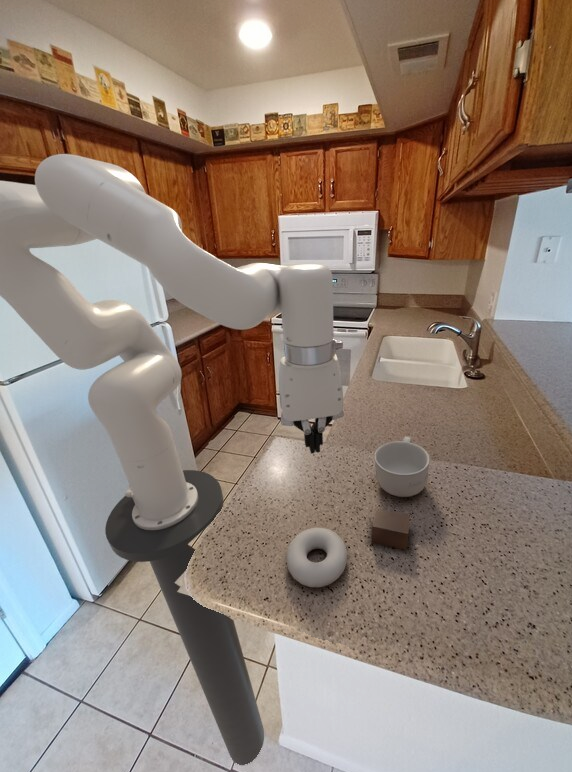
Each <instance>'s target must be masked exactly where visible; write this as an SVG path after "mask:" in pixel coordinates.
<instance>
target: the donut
mask: <svg viewBox="0 0 572 772" xmlns="http://www.w3.org/2000/svg"><path fill="white" fill-rule="evenodd" d="M318 549H319V550H322V551H324V552H325V553H326V557H325V558H324V559H323V560H322V561H319V562H317V561H316V562H315V561H311V560H310V559H309V558H307V557H308V554H309V553H310V552H311V551H312V550H313V551H314V550H318ZM347 549H348V548H347V546H346V544H345V542H344V540H343V539H342V538H341V537H340V535H339V534H338V533H336V532H335V531H333V530H332V529H329V528H325V527H311V528H308V529H307V528H306V529H305V530H303V531H301V532H299V533H298V534H297V535H295V536H294V537H293V539H292V540H291V541H290V543H289V545H288V548H287V551H286V558H285V560H286V561H285V562H286V565H287V569H288V572H289V573H290V575H291V576H292V578H293V579H294V580H295V581H297V582H298V583H299V584H301V585H303V586H306V587H309V588H322V587H327V586H329V585H331V584H333V583H334V582H335V581H337V580H338V579H339V578H340V577H341V575H342V574H343V573H344V571H345V569H346V565H347V563H348V550H347Z"/></svg>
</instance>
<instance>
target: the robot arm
mask: <svg viewBox="0 0 572 772" xmlns="http://www.w3.org/2000/svg"><path fill="white" fill-rule="evenodd" d="M94 240H99V241H100V242H103V243H104V244H106V245H108V246H110V247H111V248H113V249H115V250H116V251H119V252H121V253H122V254H124V255H126V256H127V257H129V258H131V259H133V260H135V261H136V262H137V263H140V264H142V265H144V266H145V267H146V268H147V269H148V270H149V272H150V273H151V275H152V277H153V278H154V279H155V281H156V282H157V283H158V284H159V285H160V286H161V287H162V288H163V290H165V292H167V294H169V295H170V296H171V297H172V298H173V299H174V300H176V301H177V302H179V303H180V304H182V305H183V306H185V307H187V308H188V309H190V310H192V311H194V312H196V313H197V314H199V315H201V316H203V317H205V318H206V319H208V320H210V321H212V322H214V323H216V324H218V325H221V326H222V327H226V328H229V329H232V330H241V331H243V330H250V329H253V328H254V327H258V325H260V324H261V323H262V322H264V321H265V320H266V319H267V317H269V316H272V315H273V314H276V313H278V312H279V313H280V314H281V324H282V336H283V350H284V356H283V357H281V358H280V359H279V360H280V361H279V368H278V393H279V405H280V409H281V414H280V425H282V426H288V427H293V426H294V427H295V428H297V429H299V430H300V431H301V432H303V435H304V436H303V437H304V445H305V448H309V452H310V454H315V453H321V446H323V445H324V438H323V437H324V436H323V435H324V434H323V433H324V432H325V430H326V428H327V426H328V425H330V423H331V422H332V421H334V420H337V419H340V418H343V417H344V415H345V413H344V389H343V381H342V373H341V367H340V361H339V358H338V356H337V354H336V352H337V351H339V350H342V349H343V348H344V342H343V340H338V339H335V338H334V337H335V335H334V333H335V332H334V280H333V278H334V277H333V273H332V270H331V269H330V268H329V267H328V266H325V265H322V264H317V263H315V264H314V263H303V264H301V263H300V264H293V265H280V264H272V263H265V262H253V263H248V264H245V265H241V266H238V267H234V266H232V265H230V264H229V263H227V262H225V261H223V260H221V259H220V258H218V257H216V256H214V255H213V254H211V253H209V252H208V251H206V250H205V249H203V248H202V247H200V246H199V245H197V244H196V243H195V242H193V241H192V240H191V239H189V238H188V237H187V235H185V233H184V232H183V224H182V219H181V217H180V215H179V214H178V213H177V212H176V210H174V209H173V208H171V207H170V206H168V205H166V204H164V203H162V202H161V201H159V200H158V199H156V198H154V197H152V196H150V195H149V194H147V193H146V189H144V187H143V185H142V183H141V182H140V181H139V180H138V179H137V177H135V176H134V175H133V173H131V172H129V171H128V170H126V169H125V168H123V167H121V166H119V165H117V164H113V163H111V162H106V161H102V160H98V159H93V158H89V157H85V156H81V155H78V154H77V155H76V154H71V153H59V154H58V153H57V154H53V155H50V156H48V157H46V158H45V159H43V160H42V161H41V162H40V163H39V164H38V166H37V168H36V170H35V174H34V184H32V183H31V184H30V183H22V182H15V181H7V180H0V297H1V298H2V299H3V300H4V301H5V302H6V303H8V305H9V306H10V307H11V308H12V309H13V310H14V311H15V312H16V313H17V315H18V316H19V317H20V318H21V319H22V320H23V321H24V322H25V324H26V325H27V326H28V327H29V328H30V329H31V330H32V331H33V332H34V333H35V334H36V335H37V336H38V337H39V338H40V340H41V341H42V342H43V343H44V344H45V345H46V346H47V347H48V348H49V349H50V350H51V352H52V353H54V355H55V356H56V357H58V359H60V361H62V362H63V363H64V364H65V365H66V366H68V367H69V368H72V369H74V370H75V369H76V370H79V371H80V370H81V371H82V370H89V369H90V370H91V369H94V368H97V367H98V366H100V365H102V364H105V363H107V362H109V361H111V360H112V359H114V358H116V357H118V356H119V358H120V359H122V362H120V363H119V364H117V365H115V366H114V367H112V368H110V369H108V370H107V371H105V372H104V373H102V374H101V375H100V376H98V377H97V378H96V379H95V380H94V381H93V383H92V384H91V386H90V387H89V389H88V393H87V394H88V395H87V400H88V405H89V407H90V409H91V411H92V412H93V414H94V415H95V416H96V418H97V419H98V421H99V422H100V423H101V425H102V426H103V428H104V430H105V431H106V433H107V435H108V436H109V437H108V438H110V440H111V443H112V445H113V448H114V451H115V452H116V455H117V457H118V460H119V462H120V465H121V467H122V469H123V472H124V475H125V477H126V480H127V483H128V486H129V487H128V488H129V489H127V490H126V491H125V493H124V496H126V497H131V498H133V500H134V502H135V506H134V508H133V510H132V518H133V521H134V523H135V524H136V525H137V526H138V527H139V528H141V529H144V530H160V529H164V528H167V527H170V526H172V525H174V524H176V523H178V522H180V521H181V520H183V519H184V518H185V517H187V516H188V515H189V514H190V513H191V512H192V511H193V509H194V508H195V506H196V504H197V502H198V493H197V490H196V488H195V487H194V486H193V485H192V484H190V483H188V482H186V480H185V477H184V473H183V470H184V469H183V467H182V464H181V460H180V457H179V453H178V450H177V447H176V443H175V440H174V436H173V433H172V429H171V427H170V425H169V424H168V422H167V421H166V420H165V419H164V418H163V417H161V416H160V414H159V413H158V411H157V407H158V406H159V405H160V404H161V403H162V402H163V401H164V400H165V399H166V398H167V397H168V396H169V395H171V394H172V393H173V392H174V391H175V390H176V389H177V388H178V387H179V385H180V384H181V381H182V376H183V373H182V368H181V366H180V363H179V362H178V360H177V358H176V357H175V356H174V354H173V353H172V351H171V350H170V349H169V347H168V346H167V344H166V343H165V342H164V341H163V340H162V338H161V337H160V336H159V335H158V333H157V332H156V331H155V329H154V328H153V326H152V325H151V324H150V323H149V322H148V320H147V319H146V318H145V317H144V315H143V314H142V313H141V312H140V311H139V310H137V309H136V308H135V307H134V306H132V305H130V304H128V303H127V302H124V301H121V300H117V299H106V300H101V301H96V302H93V303H91V302H89V301H88V300H87V299H86V298H85V297H84V296H83V295H82V294H81V293H80V292H79V291H78V290H77V288H76V287H75V286H74V285H73V283H72V282H71V281H70V279H68V277H66V275H64V274H63V273H62V272H60V271H59V270H58V269H57V268H55V267H54V266H53V265H52V264H49V263H48V262H46V261H44V260H43V259H40V258H39V257H37V256H36V255H34V254H32V252H31V250H30V249H42V248H57V247H70V246H77V245H82V244H85V243H88V242H92V241H94ZM313 419H314V423H313V424H312V425H311V423H310V420H313Z"/></svg>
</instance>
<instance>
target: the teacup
mask: <svg viewBox="0 0 572 772" xmlns="http://www.w3.org/2000/svg"><path fill="white" fill-rule="evenodd" d="M373 459H374V466H375V468H374V469H375V477H376V480H377V483H378V485H379V486H380V488H381V489H382V490H383V491H385V492H386V493H388V494H389V495H393V496H395V497H399V498H407V497H413V496H416V495H418V494H419V493H420V492H421V491H423V489H425V487H426V485H427V483H428V477H429V469H430V468H429V467H430V463H431V461H430V460H431V459H430V455H429V453H428V452H427V450H426V449H424V448H423V447H422V446H420V445H418V444H416V443H413V442H412V438H411V437H410V436H404V437H403V440H400V441H399V440H397V441H396V440H395V441H388V442H386V443H383V444H382V445H380V446H379V447H378V448H377V449H376V450H375V452H374V456H373Z"/></svg>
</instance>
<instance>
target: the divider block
mask: <svg viewBox="0 0 572 772" xmlns="http://www.w3.org/2000/svg"><path fill="white" fill-rule="evenodd" d="M410 520H411V515H410V514H405V513H400V512H395V511H390V510H384V509H380V508H375V510H374V516H373V520H372V525H371V543H373V544H377V545H382V546H385V547H391V548H395V549H400V550H403V551H408V541H409V531H410Z"/></svg>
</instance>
